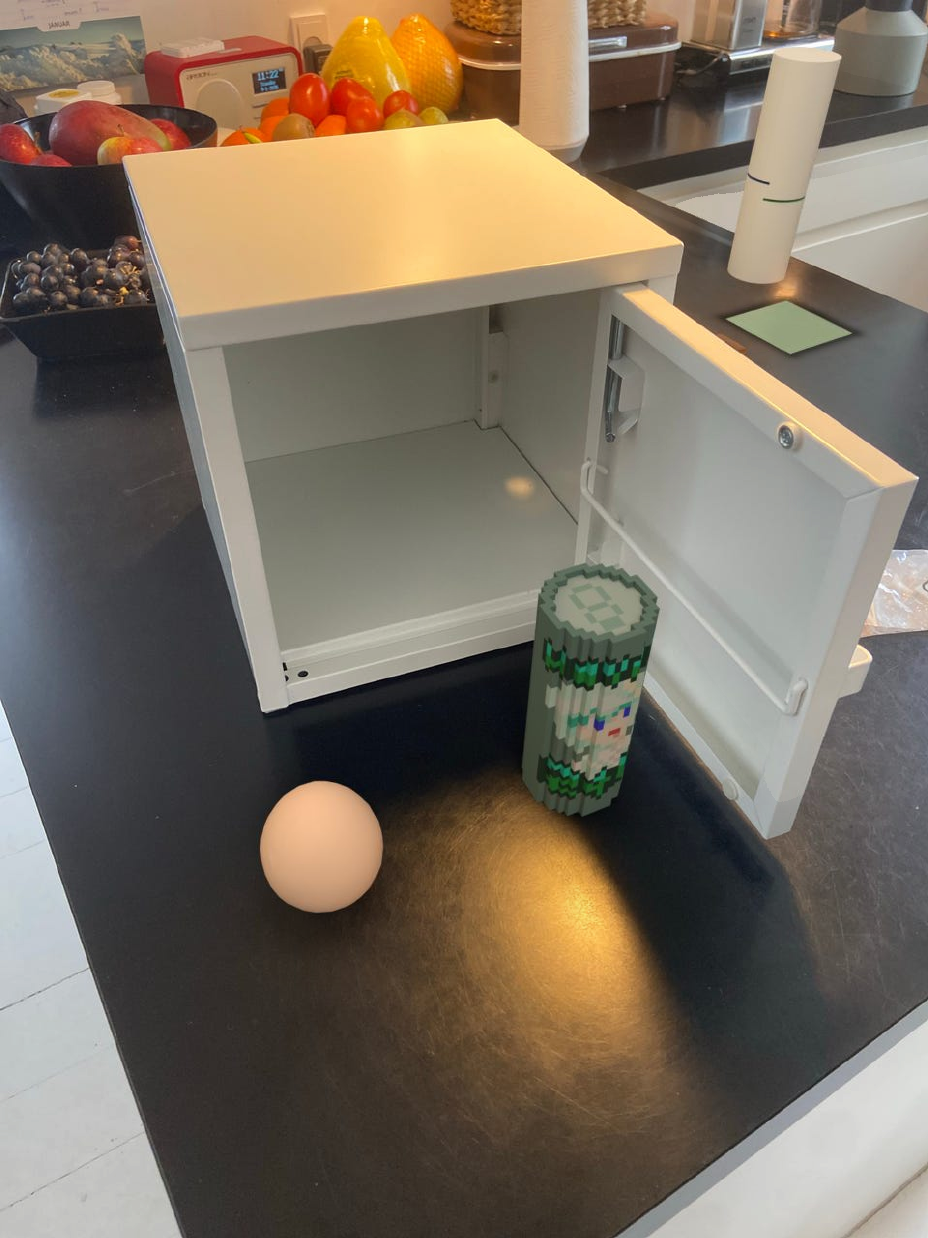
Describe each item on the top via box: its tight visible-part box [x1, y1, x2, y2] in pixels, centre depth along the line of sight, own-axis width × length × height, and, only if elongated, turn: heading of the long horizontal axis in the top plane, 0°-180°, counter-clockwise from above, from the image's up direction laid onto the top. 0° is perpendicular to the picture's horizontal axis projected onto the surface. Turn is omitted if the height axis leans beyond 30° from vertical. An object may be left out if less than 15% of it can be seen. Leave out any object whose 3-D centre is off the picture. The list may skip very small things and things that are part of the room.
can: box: [521, 562, 661, 817], centre depth 53 cm, size 6×6×15 cm
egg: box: [259, 780, 384, 914], centre depth 50 cm, size 7×7×8 cm
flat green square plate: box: [725, 300, 853, 355], centre depth 105 cm, size 10×10×1 cm
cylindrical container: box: [726, 46, 842, 285], centre depth 108 cm, size 7×7×25 cm
